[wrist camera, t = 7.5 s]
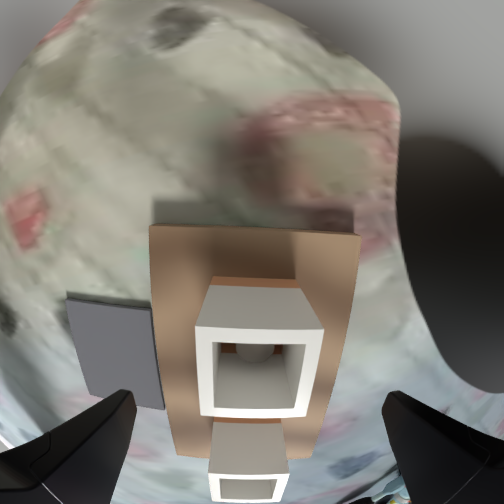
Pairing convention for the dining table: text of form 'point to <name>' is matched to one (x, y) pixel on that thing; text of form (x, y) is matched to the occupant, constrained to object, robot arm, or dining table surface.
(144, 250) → the dining table surface
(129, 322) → the mat
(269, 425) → the sleeve seated
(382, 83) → the dining table surface
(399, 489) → the toy
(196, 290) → the pin board
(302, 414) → the sleeve loose
